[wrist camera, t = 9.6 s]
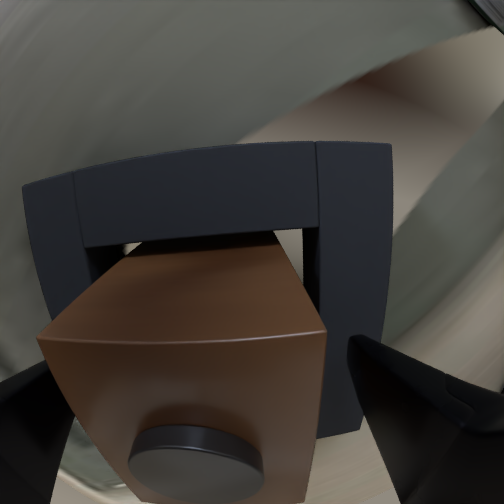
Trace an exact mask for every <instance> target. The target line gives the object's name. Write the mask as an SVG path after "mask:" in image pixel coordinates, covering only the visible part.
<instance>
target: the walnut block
mask: <svg viewBox="0 0 504 504" xmlns="http://www.w3.org/2000/svg"><path fill="white" fill-rule="evenodd" d="M36 339H37V342H38V344H39V346H40V349H41V351H42V353H43V355H44V358H45V360H46V362H47V364H48V366H49V368H50V370H51V372H52V374H53V376H54V378H55V380H56V382H57V384H58V386H59V388H60V390H61V392H62V394H63V395H64V397H65V399H66V401H67V402H68V404H69V406H70V408H71V409H72V411H73V413H74V414H75V416H76V418H77V419H78V421H79V422H80V424H81V425H82V427H83V429H84V430H85V432H86V433H87V435H88V436H89V437H90V439H91V440H92V442H93V443H94V445H95V446H96V447H97V449H98V450H99V452H100V453H101V454H102V456H103V457H104V458H105V460H106V461H107V462H108V463H109V465H110V466H111V467H112V469H113V470H114V471H115V472H116V473H117V475H118V476H119V477H120V478H121V479H122V481H123V482H124V483H125V484H126V485H127V486H128V487H129V489H130V490H131V491H132V492H133V493H134V494H135V495H136V496H137V497H138V498H139V499H140V501H142V502H148V503H154V504H297V503H303V502H304V501H305V497H306V492H307V487H308V482H309V477H310V471H311V466H312V460H313V454H314V448H315V442H316V435H317V428H318V421H319V413H320V405H321V397H322V388H323V378H324V368H325V356H326V344H327V330H326V328H325V326H324V324H323V322H322V320H321V318H320V316H319V314H318V312H317V311H316V309H315V307H314V305H313V303H312V301H311V299H310V297H309V295H308V294H307V292H306V290H305V288H304V286H303V284H302V283H301V281H300V279H299V277H298V275H297V273H296V271H295V270H294V268H293V266H292V264H291V262H290V260H289V259H288V257H287V255H286V253H285V251H284V249H283V248H282V246H281V244H280V242H279V241H278V239H277V237H276V235H275V233H274V232H273V231H262V232H250V233H238V234H226V235H214V236H203V237H191V238H180V239H170V240H159V241H149V242H142V243H141V244H140V245H138V246H137V247H136V248H135V249H133V250H132V251H131V252H130V253H128V254H127V255H126V256H125V257H124V258H122V259H121V260H120V261H119V262H118V263H116V264H115V265H114V266H113V267H112V268H110V269H109V270H108V271H107V272H106V273H105V274H103V275H102V276H101V277H100V278H99V279H98V280H96V281H95V282H94V283H93V284H92V285H91V286H90V287H89V288H87V289H86V290H85V291H84V292H83V293H82V294H81V295H80V296H78V297H77V298H76V299H75V300H74V301H73V302H72V303H71V304H70V305H69V306H68V307H67V308H65V309H64V310H63V311H62V312H61V313H60V314H59V315H58V316H57V317H56V318H55V319H54V320H53V321H52V322H51V323H50V324H49V325H48V326H47V327H46V328H45V329H44V330H43V331H42V332H40V333H39V334H38V335H37V337H36Z"/></svg>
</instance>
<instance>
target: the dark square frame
mask: <svg viewBox="0 0 504 504" xmlns="http://www.w3.org/2000/svg"><path fill="white" fill-rule="evenodd" d="M22 193H23V201H24V209H25V216H26V222H27V228H28V233H29V239H30V244H31V248H32V253H33V257H34V262H35V266H36V270H37V274H38V277H39V281H40V285H41V288H42V291H43V295H44V298H45V301H46V304H47V307H48V310H49V313H50V316H51V319H52V321H53V320H54V319H55V318H56V317H57V316H58V315H59V314H60V313H61V312H62V311H63V310H64V309H65V308H67V307H68V306H69V305H70V304H71V303H72V302H73V301H74V300H75V299H76V298H77V297H78V296H80V295H81V294H82V293H83V292H84V291H85V290H86V289H87V288H89V287H90V286H91V285H92V284H93V283H94V282H95V281H96V280H98V279H99V278H100V277H101V276H102V275H103V274H105V273H106V272H107V271H108V270H109V269H110V268H112V267H113V266H114V265H115V264H116V263H118V258H117V253H116V248H115V245H120V244H129V243H139V242H149V241H159V240H170V239H180V238H191V237H203V236H214V235H226V234H238V233H250V232H262V231H275V230H289V229H301V228H302V236H303V286H304V288H305V290H306V292H307V294H308V295H309V297H310V299H311V301H312V303H313V305H314V307H315V309H316V311H317V312H318V314H319V316H320V318H321V320H322V322H323V324H324V326H325V328H326V330H327V344H326V356H325V368H324V378H323V388H322V397H321V405H320V413H319V421H318V428H317V435H316V439H319V438H325V437H330V436H335V435H339V434H344V433H348V432H353V431H357V430H360V427H361V423H362V420H363V416H364V413H363V411H362V409H361V407H360V404H359V402H358V399H357V395H356V392H355V389H354V385H353V382H352V379H351V375H350V372H349V369H348V366H347V361H346V356H347V348H348V340H349V337H350V336H354V335H359V334H362V335H365V336H367V337H369V338H371V339H373V340H375V341H377V342H379V343H380V342H381V336H382V330H383V324H384V318H385V311H386V303H387V295H388V286H389V276H390V265H391V252H392V234H393V161H392V145H391V144H388V143H373V142H350V141H316V142H313V141H291V142H267V143H266V142H265V143H248V144H235V145H224V146H213V147H204V148H195V149H187V150H180V151H172V152H165V153H159V154H153V155H147V156H141V157H135V158H130V159H125V160H119V161H114V162H110V163H105V164H100V165H96V166H91V167H87V168H83V169H79V170H75V171H71V172H67V173H63V174H60V175H56V176H52V177H49V178H45V179H42V180H39V181H35V182H32V183H29V184H26V185H24V186H22Z"/></svg>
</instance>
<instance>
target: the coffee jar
mask: <svg viewBox="0 0 504 504" xmlns="http://www.w3.org/2000/svg"><path fill="white" fill-rule="evenodd" d="M468 1H469V2H470V3H471V4H472V5H473V6H474V7H475V9H476V10H477V11H478V12H479V13H480V14H481V15H482V16H483V17H484V18H485V19H486V20H487V21H488V22H489V23H491V24H492V25H493V26H494V27H495V28H497V29H498V30H499V31H500V32H501V33H502V34H503V35H504V0H468Z"/></svg>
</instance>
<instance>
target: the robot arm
mask: <svg viewBox="0 0 504 504" xmlns="http://www.w3.org/2000/svg"><path fill="white" fill-rule="evenodd" d="M346 361H347V366H348V369H349V372H350V375H351V379H352V382H353V385H354V389H355V392H356V395H357V399H358V402H359V404H360V407H361V409H362V411H363V413H364V416H365V418H366V420H367V423H368V425H369V427H370V430H371V432H372V434H373V437H374V439H375V441H376V444H377V446H378V449H379V451H380V453H381V456H382V458H383V461H384V463H385V465H386V468H387V470H388V473H389V475H390V478H391V480H392V483H393V485H394V488H395V490H396V493H397V495H398V498H399V501H400V503H401V504H504V388H503V390H502V392H501V394H500V393H497V392H494V391H491V390H488V389H485V388H482V387H479V386H476V385H473V384H470V383H468V382H465V381H463V380H460V379H458V378H456V377H453V376H451V375H449V374H445V373H444V372H442V371H440V370H438V369H435V368H433V367H431V366H429V365H427V364H424V363H422V362H420V361H418V360H416V359H414V358H411V357H409V356H407V355H405V354H403V353H401V352H399V351H396V350H394V349H392V348H390V347H388V346H386V345H384V344H382V343H379V342H377V341H375V340H373V339H371V338H369V337H367V336H365V335H362V334H359V335H354V336H350V337H349V340H348V348H347V356H346ZM74 418H75V414H74V413H73V411H72V409H71V408H70V406H69V404H68V402H67V401H66V399H65V397H64V395H63V394H62V392H61V390H60V388H59V386H58V384H57V382H56V380H55V378H54V376H53V374H52V372H51V370H50V368H49V366H48V364H47V362H46V360H44V361H42V362H40V363H38V364H36V365H34V366H32V367H30V368H28V369H26V370H24V371H22V372H20V373H18V374H16V375H14V376H12V377H10V378H8V379H6V380H4V381H2V382H0V504H50V503H49V502H51V497H52V492H53V489H54V484H55V480H56V477H57V473H58V469H59V465H60V462H61V458H62V455H63V452H64V448H65V445H66V442H67V439H68V435H69V432H70V429H71V426H72V423H73V420H74Z"/></svg>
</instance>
